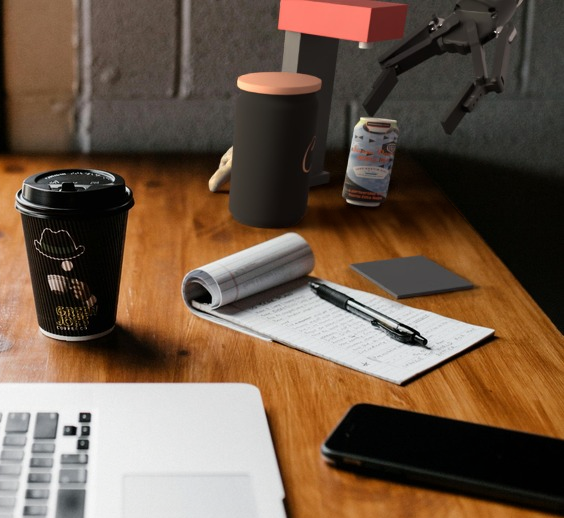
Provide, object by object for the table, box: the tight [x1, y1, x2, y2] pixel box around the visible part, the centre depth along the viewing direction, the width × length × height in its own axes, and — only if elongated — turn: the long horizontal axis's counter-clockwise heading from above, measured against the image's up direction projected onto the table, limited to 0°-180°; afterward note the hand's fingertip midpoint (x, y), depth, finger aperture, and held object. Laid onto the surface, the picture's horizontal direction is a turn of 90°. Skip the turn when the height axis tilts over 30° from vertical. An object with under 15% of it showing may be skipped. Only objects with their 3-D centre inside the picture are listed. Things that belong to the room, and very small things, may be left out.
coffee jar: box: [228, 71, 322, 229], centre depth 114 cm, size 11×11×18 cm
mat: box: [348, 254, 475, 300], centre depth 100 cm, size 10×10×1 cm
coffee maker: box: [277, 0, 409, 188], centre depth 122 cm, size 10×18×26 cm, turn 35°
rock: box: [208, 145, 233, 193], centre depth 134 cm, size 20×5×7 cm, turn 166°
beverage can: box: [341, 116, 400, 207], centre depth 121 cm, size 6×7×12 cm
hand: (404, 119), depth 121 cm, fingers open, 13 cm apart
